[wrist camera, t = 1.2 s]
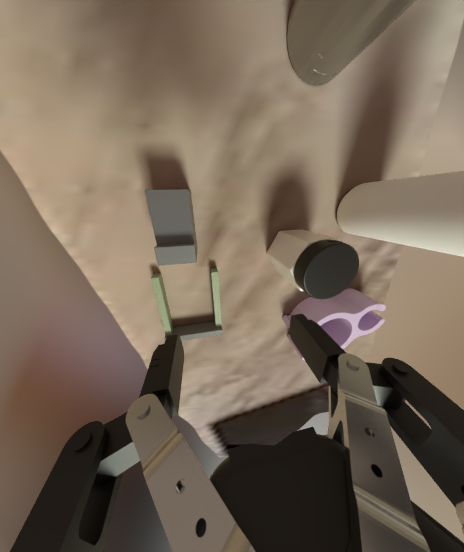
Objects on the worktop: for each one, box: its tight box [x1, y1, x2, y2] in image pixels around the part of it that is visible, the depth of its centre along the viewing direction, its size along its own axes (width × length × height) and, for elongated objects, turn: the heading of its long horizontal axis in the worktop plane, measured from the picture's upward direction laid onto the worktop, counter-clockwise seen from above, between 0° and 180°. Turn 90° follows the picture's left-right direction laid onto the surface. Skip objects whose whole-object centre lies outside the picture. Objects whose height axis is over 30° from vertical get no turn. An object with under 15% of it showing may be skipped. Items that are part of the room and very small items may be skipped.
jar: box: [267, 229, 359, 299], centre depth 27 cm, size 9×8×12 cm
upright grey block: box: [145, 189, 197, 266], centre depth 24 cm, size 9×5×8 cm, turn 1°
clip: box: [282, 289, 386, 360], centre depth 38 cm, size 20×12×7 cm, turn 110°
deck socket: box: [151, 268, 222, 341], centre depth 32 cm, size 14×11×3 cm
